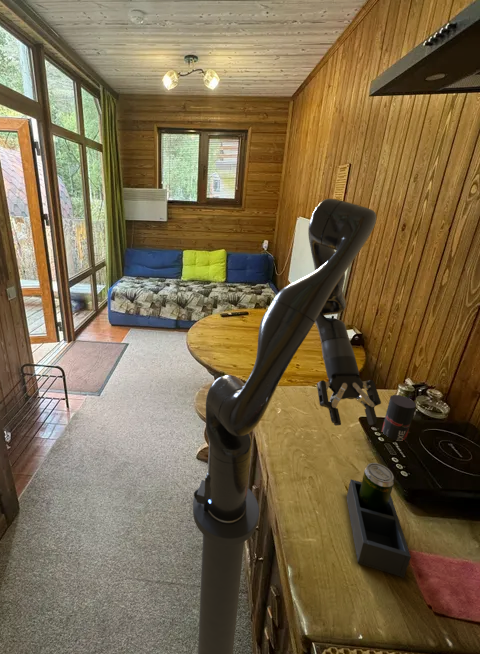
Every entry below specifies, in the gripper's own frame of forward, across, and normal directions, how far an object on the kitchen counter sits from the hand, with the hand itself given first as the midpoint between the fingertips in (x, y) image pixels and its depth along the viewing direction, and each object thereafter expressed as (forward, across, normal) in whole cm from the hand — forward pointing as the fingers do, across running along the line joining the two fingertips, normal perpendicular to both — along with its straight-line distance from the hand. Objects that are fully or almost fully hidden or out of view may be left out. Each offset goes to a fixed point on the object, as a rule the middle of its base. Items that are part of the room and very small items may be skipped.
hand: (355, 425), depth 73 cm
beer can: (+18, 0, +4) cm, 19 cm away
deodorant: (+4, +20, +19) cm, 28 cm away
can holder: (+21, -1, +2) cm, 21 cm away
